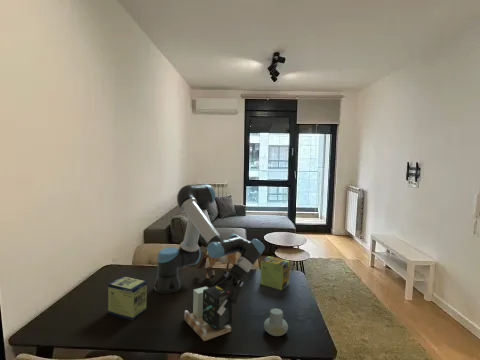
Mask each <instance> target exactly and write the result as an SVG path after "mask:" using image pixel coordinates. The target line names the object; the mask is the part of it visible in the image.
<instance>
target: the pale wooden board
mask: <svg viewBox="0 0 480 360" xmlns="http://www.w3.org/2000/svg"><path fill="white" fill-rule="evenodd" d="M184 321H185V322H186V323H187V325H189V326H190V328H191V329H192V330H193V331H194V332H195V333H196V334H197V335H198V336H199V338H200V339H201V340H202V341H203V342H206V341H209V340H211V339H214V338H216V337H219V336H222V335H225V334H228V333H230V332H232V327H231V325H230V324H229V325H226V326H224V327H221V328H219V329H217V330H215V329H214V328H212V327H211V326H210V325H209V324H207V323H206V322H205V321H203V316H202V317H199V318H197V317H196V316H195V315H194V314H193V312H192V313H191V312H189V310H186V309H185V310H184Z"/></svg>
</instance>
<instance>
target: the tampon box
mask: <svg viewBox="0 0 480 360" xmlns="http://www.w3.org/2000/svg"><path fill="white" fill-rule="evenodd" d="M207 288H208V289H204V290H203V321H205V322H206V323H207V324H209V325H210V326H211V327H212V328H214V329H215V330H217V329H219V328H221V327H224V326H226V325H229V326H230V324H233V303H231V304H230V305H229V307H228V308H227V309H226V310H225V311H224V313H223V314H222V315H220V314H219V313H218V312H217V311H218V310H219V308H220V307H221V305H222V304H223V303H224V301H225V300H226V299H227V298H228V296H229V291H230V290H228V289H226V288H224V286H223V287H221V286H214V287H212V286H211V287H207Z"/></svg>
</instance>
